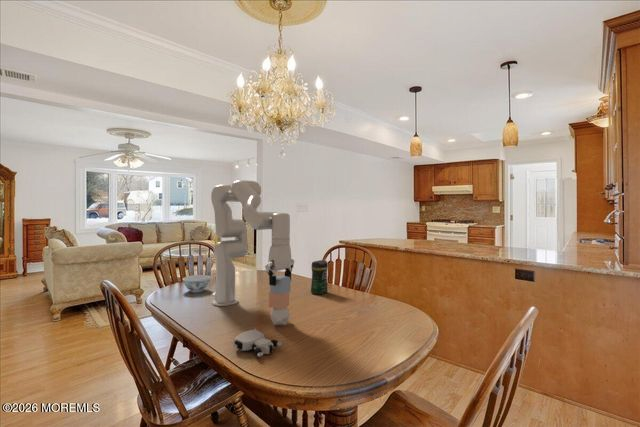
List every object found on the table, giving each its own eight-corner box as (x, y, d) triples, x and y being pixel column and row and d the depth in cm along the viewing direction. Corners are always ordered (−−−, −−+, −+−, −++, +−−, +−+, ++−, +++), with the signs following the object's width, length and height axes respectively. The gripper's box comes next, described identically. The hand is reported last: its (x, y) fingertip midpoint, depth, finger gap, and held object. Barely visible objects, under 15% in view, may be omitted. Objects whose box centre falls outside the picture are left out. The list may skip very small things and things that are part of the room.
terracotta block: (268, 306, 132) (268, 292, 132) (278, 302, 138) (278, 289, 137) (280, 309, 129) (280, 294, 129) (289, 305, 134) (289, 291, 134)
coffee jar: (319, 295, 176) (319, 262, 175) (308, 293, 180) (308, 260, 180) (330, 292, 183) (330, 260, 183) (319, 289, 188) (319, 258, 188)
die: (281, 331, 128) (294, 309, 131) (263, 319, 129) (277, 298, 132) (283, 330, 135) (295, 310, 138) (266, 319, 137) (279, 299, 140)
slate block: (270, 292, 132) (270, 278, 132) (279, 289, 137) (279, 275, 137) (281, 294, 129) (281, 279, 129) (290, 291, 134) (290, 277, 134)
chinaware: (178, 290, 184) (178, 277, 184) (204, 286, 194) (204, 273, 194) (188, 296, 173) (188, 282, 173) (214, 291, 183) (214, 278, 183)
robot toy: (283, 351, 111) (253, 337, 119) (284, 338, 111) (253, 326, 119) (258, 365, 101) (227, 350, 109) (259, 352, 100) (227, 337, 109)
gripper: (287, 240, 142) (286, 278, 143) (259, 243, 128) (259, 285, 128) (300, 241, 138) (300, 280, 138) (273, 245, 124) (273, 288, 124)
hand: (280, 282), depth 133 cm, fingers open, 9 cm apart
